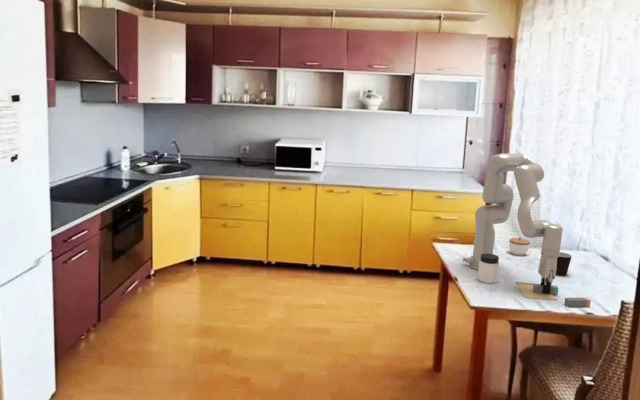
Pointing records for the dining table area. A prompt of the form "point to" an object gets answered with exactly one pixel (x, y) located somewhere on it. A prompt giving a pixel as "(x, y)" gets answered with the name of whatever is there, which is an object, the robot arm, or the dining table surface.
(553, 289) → the marker
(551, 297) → the notepad
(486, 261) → the jar
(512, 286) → the dining table surface
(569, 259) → the coffee mug
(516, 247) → the lidded jar
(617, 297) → the dining table surface
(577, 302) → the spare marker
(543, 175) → the robot arm
